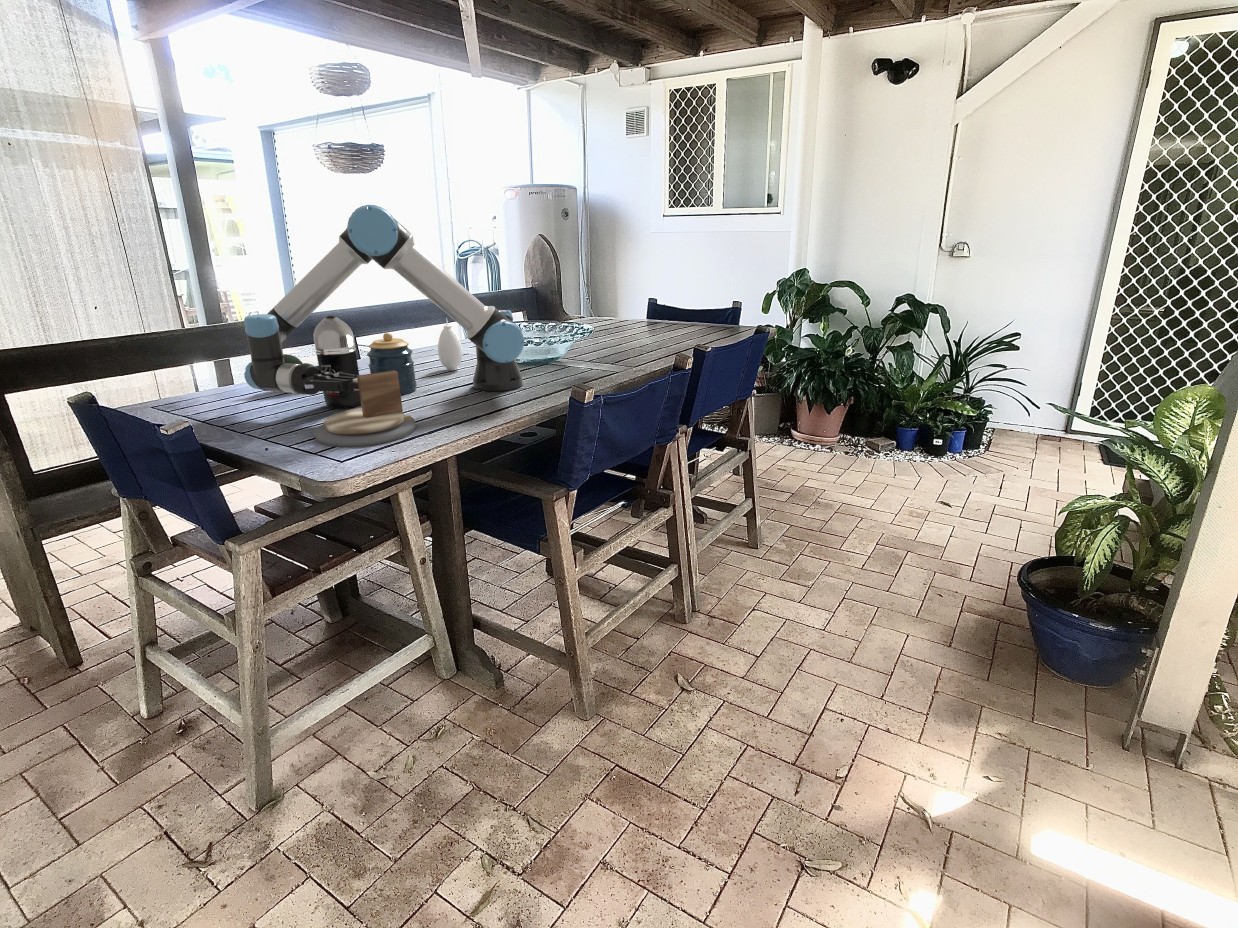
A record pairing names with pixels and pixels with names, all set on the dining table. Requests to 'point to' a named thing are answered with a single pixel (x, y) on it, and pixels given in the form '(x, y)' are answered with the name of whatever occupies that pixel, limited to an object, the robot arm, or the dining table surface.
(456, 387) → the dining table surface
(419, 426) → the dining table surface
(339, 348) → the black chrome cylinder
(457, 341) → the white tall oval piece
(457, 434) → the dining table surface
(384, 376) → the dial
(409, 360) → the canister
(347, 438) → the base
